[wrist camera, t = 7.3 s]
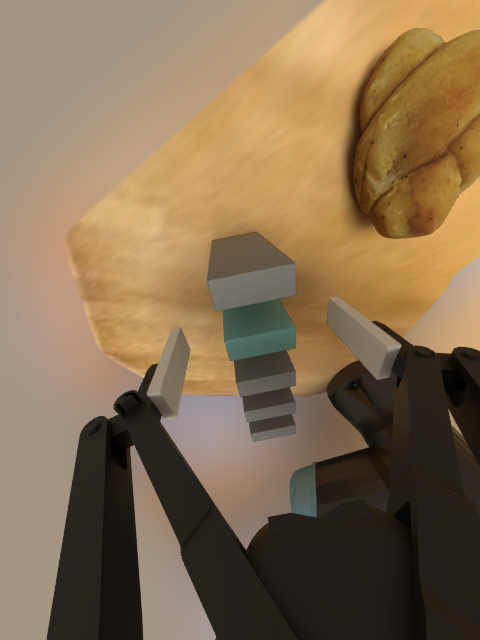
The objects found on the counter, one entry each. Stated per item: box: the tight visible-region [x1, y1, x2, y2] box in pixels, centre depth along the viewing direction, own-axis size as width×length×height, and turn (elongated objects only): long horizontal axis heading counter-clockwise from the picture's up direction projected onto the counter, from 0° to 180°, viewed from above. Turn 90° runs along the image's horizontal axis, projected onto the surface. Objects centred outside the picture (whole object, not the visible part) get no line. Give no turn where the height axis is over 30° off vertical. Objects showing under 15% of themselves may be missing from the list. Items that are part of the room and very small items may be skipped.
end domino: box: [207, 232, 296, 311], centre depth 16 cm, size 2×5×12 cm, turn 100°
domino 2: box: [242, 387, 295, 422], centre depth 23 cm, size 2×5×12 cm, turn 100°
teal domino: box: [223, 299, 296, 361], centre depth 18 cm, size 2×5×12 cm, turn 100°
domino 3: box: [249, 414, 295, 442], centre depth 26 cm, size 2×5×12 cm, turn 100°
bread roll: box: [353, 28, 480, 239], centre depth 14 cm, size 13×10×8 cm
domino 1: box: [234, 350, 296, 397], centre depth 21 cm, size 2×5×12 cm, turn 100°
